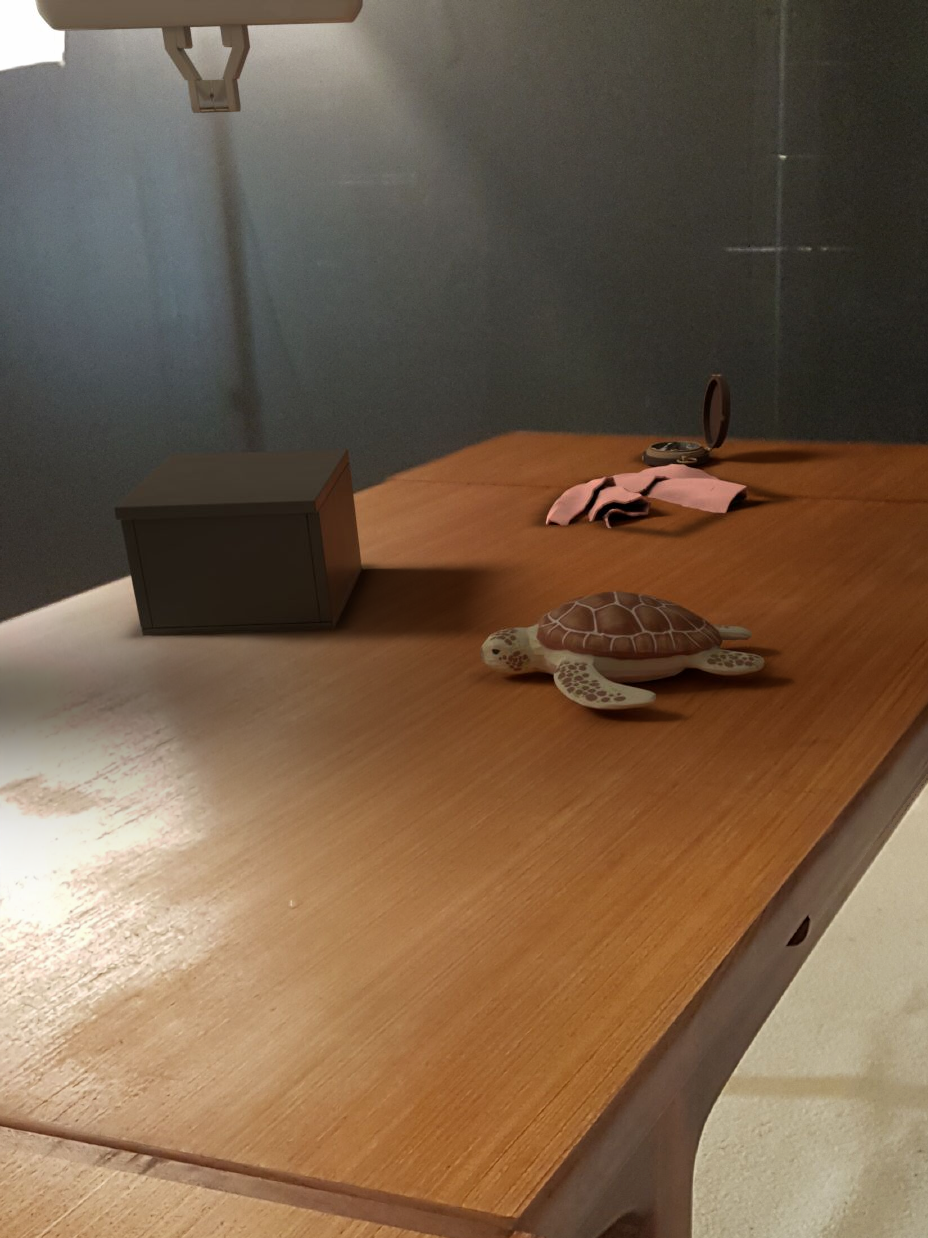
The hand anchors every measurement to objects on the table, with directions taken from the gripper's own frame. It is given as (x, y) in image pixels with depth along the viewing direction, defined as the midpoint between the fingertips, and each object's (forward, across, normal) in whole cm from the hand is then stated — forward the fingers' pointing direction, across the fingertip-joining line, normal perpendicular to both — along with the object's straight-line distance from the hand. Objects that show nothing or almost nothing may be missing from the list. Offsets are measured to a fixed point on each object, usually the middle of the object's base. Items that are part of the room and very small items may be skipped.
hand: (216, 112), depth 106 cm
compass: (+29, +32, +34) cm, 55 cm away
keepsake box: (+29, 0, -10) cm, 31 cm away
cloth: (+29, +28, +16) cm, 43 cm away
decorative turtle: (+29, +25, -29) cm, 48 cm away
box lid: (+21, 0, -10) cm, 24 cm away
